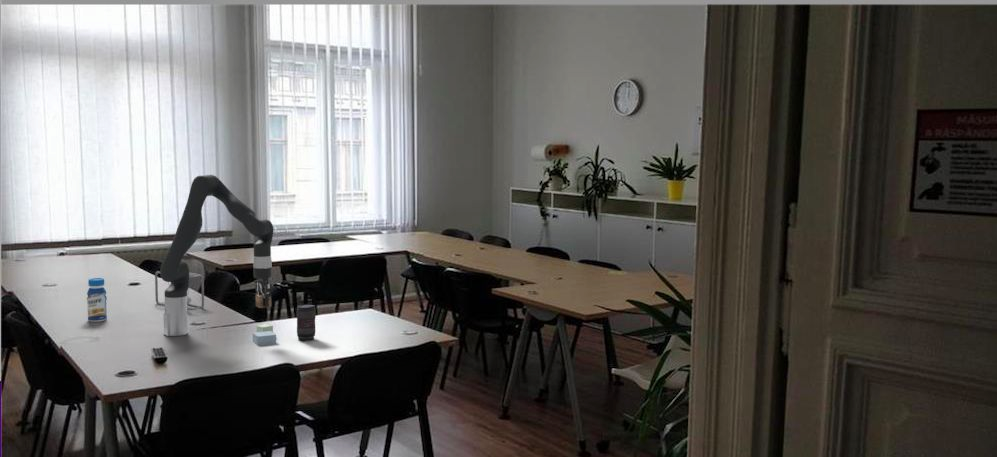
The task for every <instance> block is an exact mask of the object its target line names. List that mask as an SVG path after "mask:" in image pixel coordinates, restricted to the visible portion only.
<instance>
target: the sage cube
mask: <svg viewBox="0 0 997 457" xmlns="http://www.w3.org/2000/svg"><path fill="white" fill-rule="evenodd" d="M266 331H272V332H273V333H274V325H272V324H268V323H263V324H259V325H256V332H266Z"/></svg>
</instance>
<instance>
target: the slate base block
mask: <svg viewBox="0 0 997 457" xmlns="http://www.w3.org/2000/svg"><path fill="white" fill-rule="evenodd" d="M252 342H253V343H254V344H255V345H257V346H261V345H263V346H264V345H272V344H277V334H276V333H274V331H273V332H272V331H266V332H257V331H255V332H252Z"/></svg>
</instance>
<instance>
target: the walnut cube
mask: <svg viewBox="0 0 997 457" xmlns="http://www.w3.org/2000/svg"><path fill="white" fill-rule="evenodd" d="M255 307H257V308H258V309H263V308H265V309H266V308H272V296H271V297H269V306H268V307H264V306H263V294H260V295H257V294H255Z"/></svg>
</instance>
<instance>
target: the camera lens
mask: <svg viewBox="0 0 997 457" xmlns="http://www.w3.org/2000/svg"><path fill="white" fill-rule="evenodd" d="M316 309H317V308H316V305H313V304H300V305H297V307H296V336H297V339H298V341H299V342H310V341H311V342H312V341H313V340H314V339H315V336H316V316H317V314H316Z"/></svg>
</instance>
